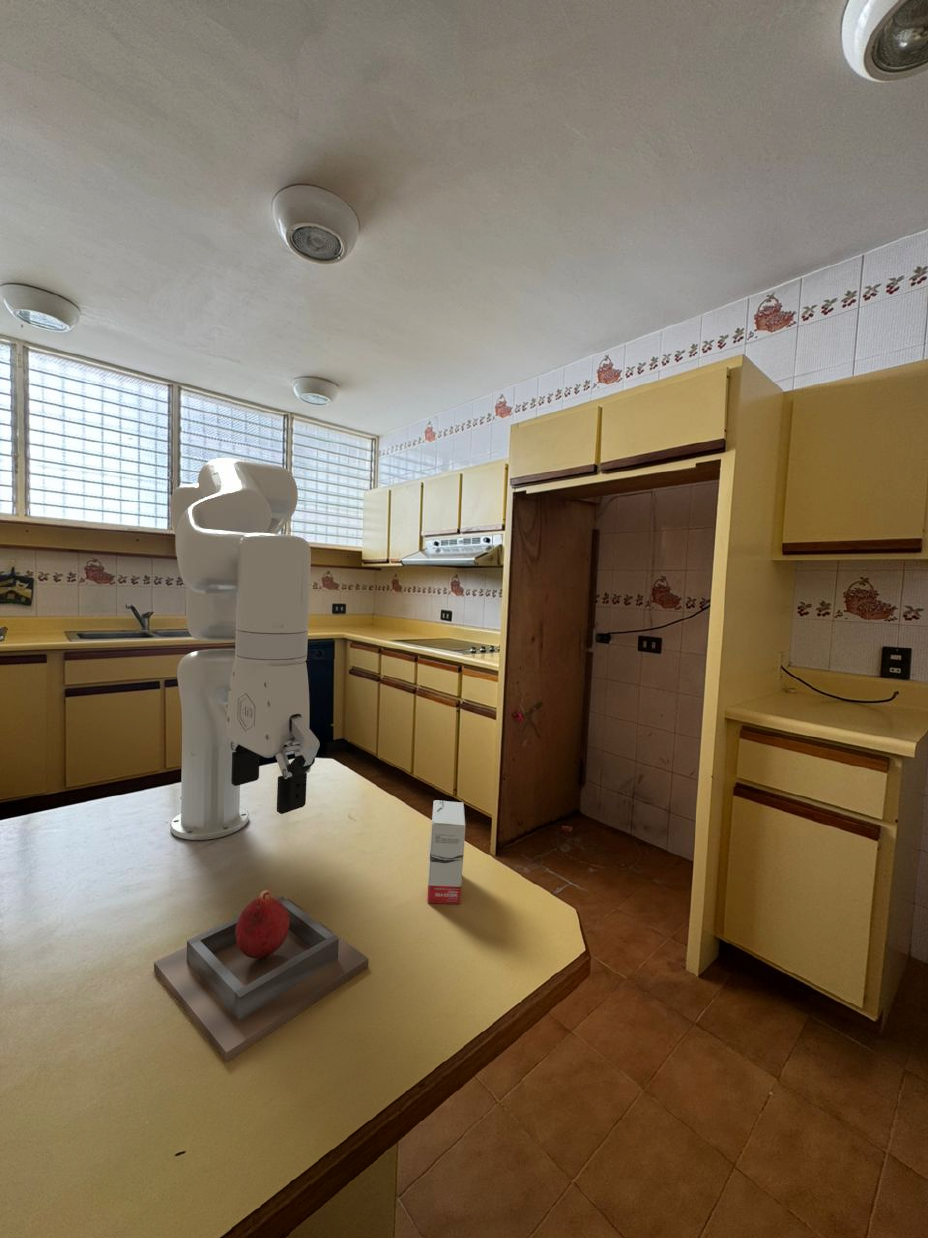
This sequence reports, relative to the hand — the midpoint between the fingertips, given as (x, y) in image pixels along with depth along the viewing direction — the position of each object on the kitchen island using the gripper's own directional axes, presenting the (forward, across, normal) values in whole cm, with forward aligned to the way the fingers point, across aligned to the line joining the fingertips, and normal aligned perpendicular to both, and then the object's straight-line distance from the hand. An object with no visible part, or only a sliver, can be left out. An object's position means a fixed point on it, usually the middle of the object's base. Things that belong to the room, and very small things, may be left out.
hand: (267, 795), depth 60 cm
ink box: (+21, +5, +27) cm, 34 cm away
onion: (+20, 0, 0) cm, 20 cm away
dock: (+20, +1, 0) cm, 20 cm away
